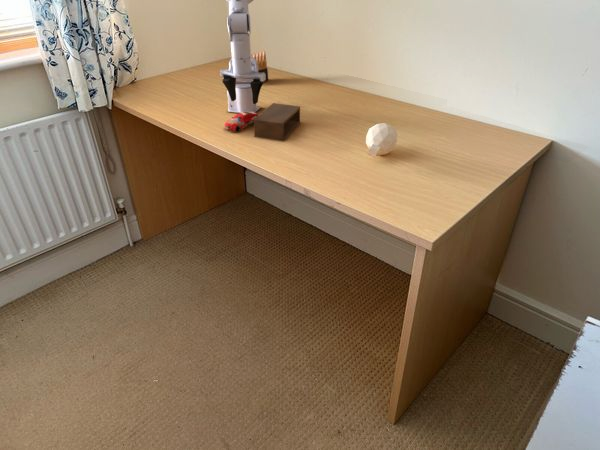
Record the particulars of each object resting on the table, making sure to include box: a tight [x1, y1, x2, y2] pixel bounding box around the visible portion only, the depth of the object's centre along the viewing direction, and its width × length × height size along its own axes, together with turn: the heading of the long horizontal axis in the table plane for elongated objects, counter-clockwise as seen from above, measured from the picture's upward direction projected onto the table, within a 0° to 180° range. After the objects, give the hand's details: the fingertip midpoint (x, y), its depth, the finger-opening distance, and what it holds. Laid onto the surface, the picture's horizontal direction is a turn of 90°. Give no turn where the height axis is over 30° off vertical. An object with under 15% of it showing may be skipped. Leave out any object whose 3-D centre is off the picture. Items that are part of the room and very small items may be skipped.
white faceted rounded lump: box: [365, 122, 398, 158], centre depth 123 cm, size 9×9×12 cm
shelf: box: [253, 102, 301, 142], centre depth 139 cm, size 10×16×6 cm, turn 160°
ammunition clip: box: [251, 50, 269, 82], centre depth 179 cm, size 11×2×12 cm, turn 137°
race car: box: [224, 112, 259, 133], centre depth 141 cm, size 13×5×4 cm, turn 140°
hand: (244, 101), depth 138 cm, fingers open, 7 cm apart
